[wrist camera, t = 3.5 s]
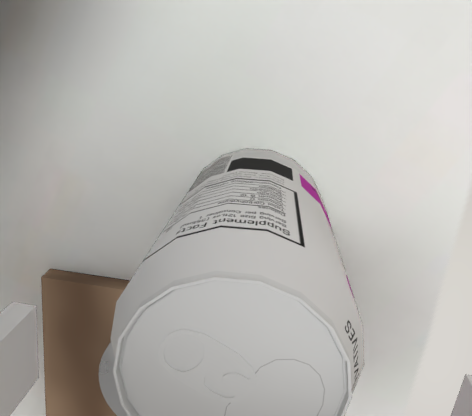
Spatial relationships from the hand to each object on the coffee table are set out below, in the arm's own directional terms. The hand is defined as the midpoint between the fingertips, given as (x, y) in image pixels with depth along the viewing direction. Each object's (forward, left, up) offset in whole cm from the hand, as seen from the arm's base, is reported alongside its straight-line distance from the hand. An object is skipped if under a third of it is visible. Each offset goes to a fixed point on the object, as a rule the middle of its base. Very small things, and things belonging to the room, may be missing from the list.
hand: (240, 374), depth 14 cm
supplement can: (0, 0, -15) cm, 15 cm away
